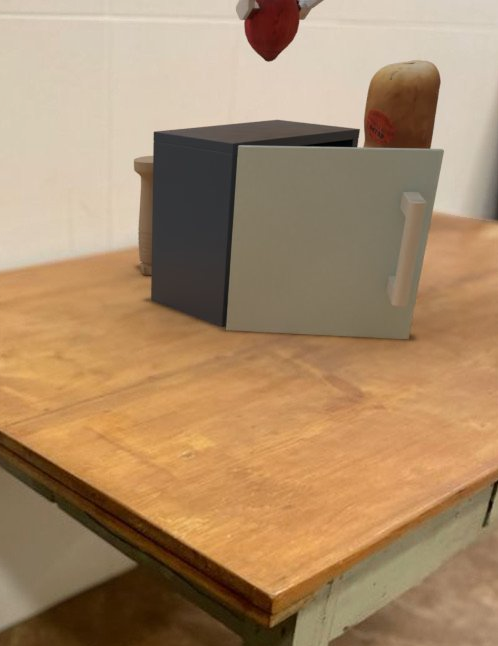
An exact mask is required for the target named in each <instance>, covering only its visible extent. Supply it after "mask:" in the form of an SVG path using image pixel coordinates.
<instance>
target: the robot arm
mask: <svg viewBox="0 0 498 646" xmlns="http://www.w3.org/2000/svg"><path fill="white" fill-rule="evenodd" d="M295 1H296V3H297V6H298V10H299V21H304V20H305V19H306V18H307V17H308V15H309V14H310V12H311V11H312V9H314V8H315V7H317V6H318V5H320V4H321V3H322V2H323V1H324V0H295ZM259 9H260V7H259V5H258V3H257V2H256V0H238V2H237V3H236V6H235V12H236V15H237V17H238V19H239V20H240V21H245V20H252V19H253V18H254V16H255V14H257V12H258V11H259Z"/></svg>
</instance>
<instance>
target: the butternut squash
mask: <svg viewBox="0 0 498 646" xmlns="http://www.w3.org/2000/svg"><path fill="white" fill-rule="evenodd" d="M440 74H441V73H440V70H439V69H438V67H437V66H436V65H435V64H434V63H433V62H431V61H429V60H421V59H416V60H415V59H414V60H409V61H401V62H400V61H399V62H395V63H390V64H387V65H384V66H383V67H381V68H379V70H377V71H376V72H375V73H374V75H373V76H372V77H371V79H370V82H369V84H368V85H369V86H368V89H367V90H368V91H367V95H366V101H365V108H364V114H363V115H364V116H363V132H364V142H363V148H419V149H432V148H431V147H432V141H433V137H434V136H433V135H434V131H435V123H436V122H435V121H436V114H437V107H438V102H439V95H440V90H441V89H440V88H441V75H440Z"/></svg>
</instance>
